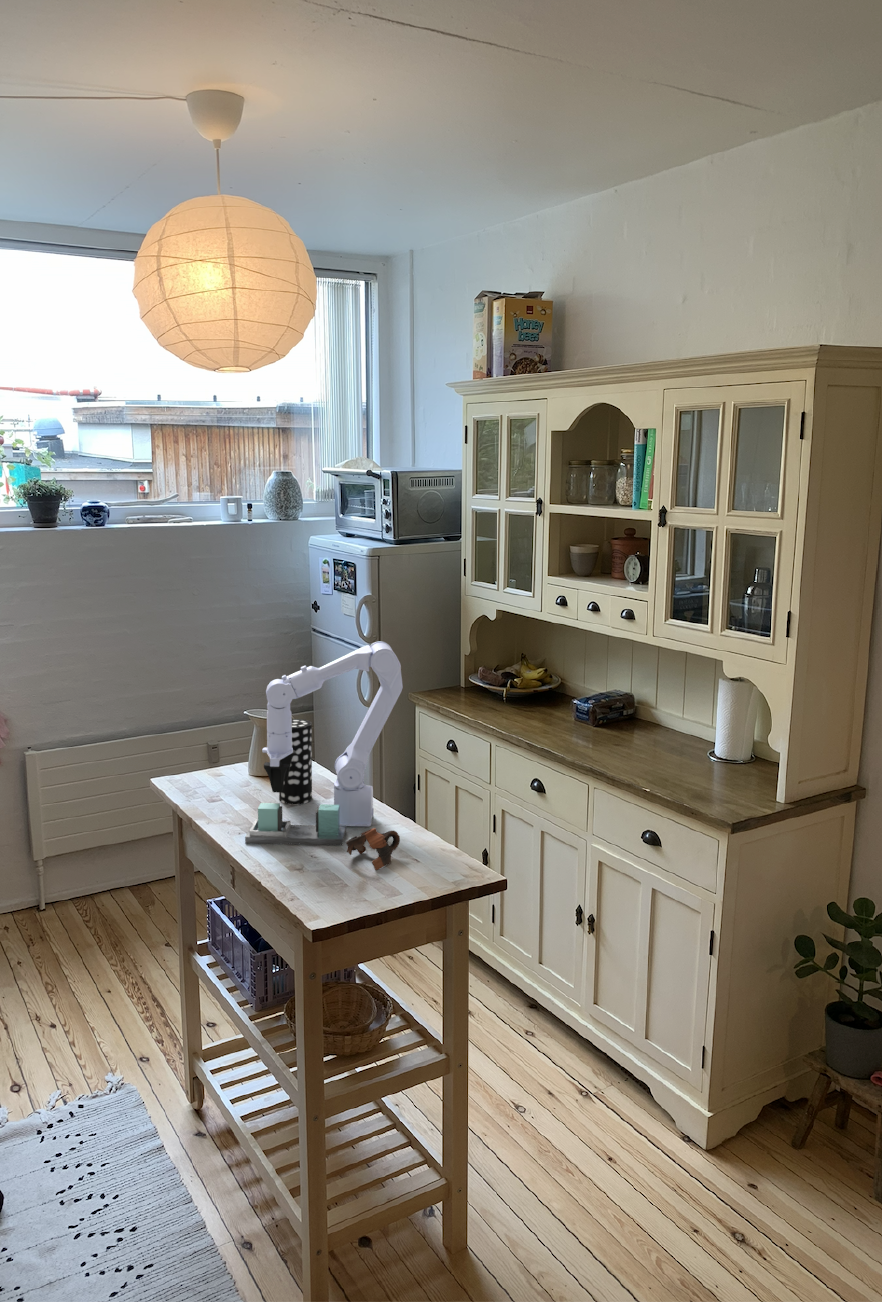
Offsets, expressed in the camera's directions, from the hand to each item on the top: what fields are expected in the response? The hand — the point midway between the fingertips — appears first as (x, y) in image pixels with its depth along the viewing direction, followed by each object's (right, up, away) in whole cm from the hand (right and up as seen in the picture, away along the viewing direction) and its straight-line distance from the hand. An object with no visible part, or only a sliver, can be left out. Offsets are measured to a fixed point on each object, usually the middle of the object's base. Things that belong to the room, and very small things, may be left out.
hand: (280, 786), depth 229 cm
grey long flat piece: (+5, -11, -6) cm, 13 cm away
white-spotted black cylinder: (+1, -6, +19) cm, 20 cm away
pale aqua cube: (-1, -9, -6) cm, 11 cm away
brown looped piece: (+23, -14, -17) cm, 32 cm away
